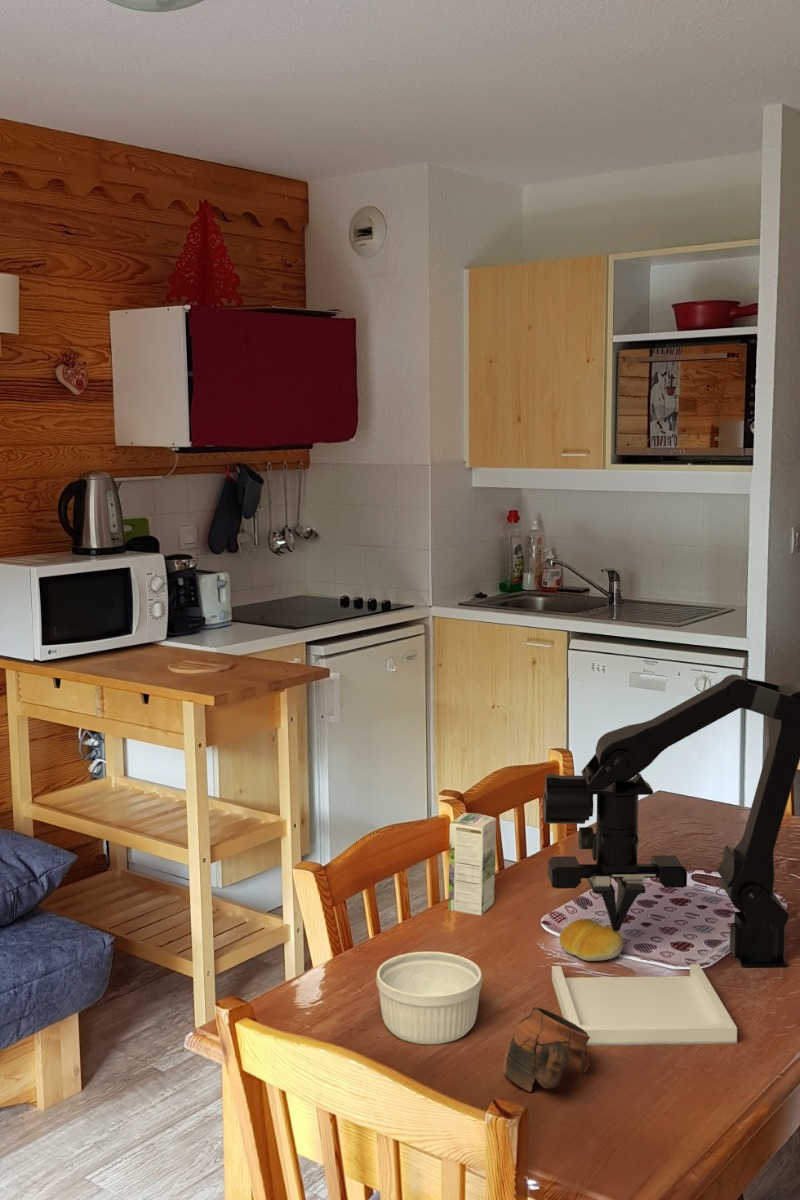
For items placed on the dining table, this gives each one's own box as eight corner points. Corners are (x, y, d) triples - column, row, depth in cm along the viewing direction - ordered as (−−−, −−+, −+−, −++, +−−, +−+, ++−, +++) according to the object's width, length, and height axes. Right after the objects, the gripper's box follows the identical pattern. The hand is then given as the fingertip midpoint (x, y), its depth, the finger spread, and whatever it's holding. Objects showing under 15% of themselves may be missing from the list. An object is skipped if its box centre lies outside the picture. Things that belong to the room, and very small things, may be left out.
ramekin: (457, 994, 159) (457, 944, 158) (499, 1039, 147) (499, 985, 146) (363, 1011, 155) (362, 959, 154) (398, 1059, 142) (398, 1003, 141)
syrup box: (461, 898, 192) (461, 811, 190) (496, 904, 190) (496, 815, 188) (448, 911, 187) (447, 821, 185) (483, 917, 185) (483, 826, 183)
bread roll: (597, 967, 165) (596, 940, 165) (550, 949, 172) (549, 923, 172) (636, 950, 170) (635, 923, 170) (589, 933, 177) (588, 907, 177)
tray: (698, 978, 163) (698, 964, 163) (736, 1043, 145) (737, 1028, 145) (551, 980, 163) (551, 966, 162) (571, 1045, 145) (572, 1030, 145)
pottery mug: (489, 1060, 142) (517, 994, 143) (559, 1092, 142) (587, 1026, 144) (511, 1092, 130) (542, 1020, 131) (588, 1127, 131) (618, 1055, 132)
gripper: (670, 805, 175) (668, 907, 177) (543, 806, 175) (542, 908, 177) (689, 829, 164) (686, 938, 166) (553, 830, 164) (552, 939, 166)
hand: (615, 929), depth 169 cm, fingers closed
